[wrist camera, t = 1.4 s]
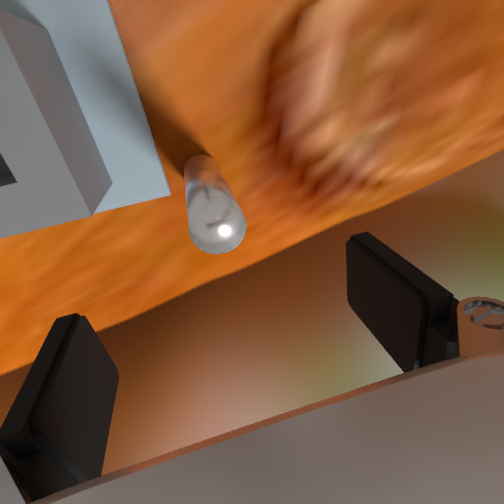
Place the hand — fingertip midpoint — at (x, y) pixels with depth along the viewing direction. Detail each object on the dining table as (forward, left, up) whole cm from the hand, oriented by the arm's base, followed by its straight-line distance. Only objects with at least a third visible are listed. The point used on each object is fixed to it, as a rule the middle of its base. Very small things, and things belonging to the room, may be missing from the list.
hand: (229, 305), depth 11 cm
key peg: (0, 0, -18) cm, 18 cm away
